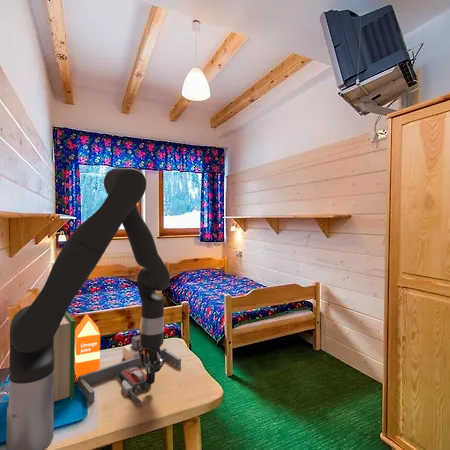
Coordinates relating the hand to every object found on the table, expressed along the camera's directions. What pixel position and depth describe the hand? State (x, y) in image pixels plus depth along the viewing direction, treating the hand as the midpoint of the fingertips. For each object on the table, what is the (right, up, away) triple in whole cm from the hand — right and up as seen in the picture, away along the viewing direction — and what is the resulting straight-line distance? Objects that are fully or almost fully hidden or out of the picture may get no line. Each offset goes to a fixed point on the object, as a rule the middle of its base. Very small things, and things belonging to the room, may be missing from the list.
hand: (150, 382), depth 96 cm
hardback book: (-31, -2, 0) cm, 31 cm away
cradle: (-9, -2, +9) cm, 13 cm away
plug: (-10, -2, +22) cm, 24 cm away
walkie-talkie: (-5, -3, +2) cm, 6 cm away
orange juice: (-26, -2, +11) cm, 28 cm away
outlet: (-10, -2, +22) cm, 25 cm away
